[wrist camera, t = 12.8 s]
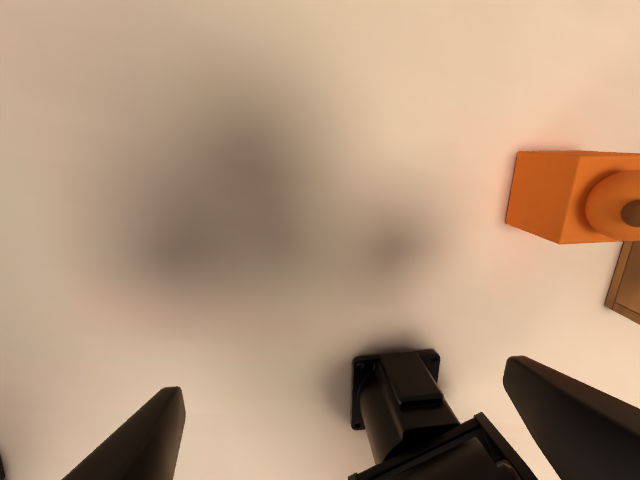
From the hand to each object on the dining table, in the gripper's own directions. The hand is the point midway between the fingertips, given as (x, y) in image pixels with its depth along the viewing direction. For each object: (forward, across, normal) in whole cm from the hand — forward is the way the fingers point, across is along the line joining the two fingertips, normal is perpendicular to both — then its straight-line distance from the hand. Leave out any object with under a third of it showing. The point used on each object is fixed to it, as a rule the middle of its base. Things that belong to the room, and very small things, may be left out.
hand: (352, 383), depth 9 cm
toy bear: (+12, -15, -3) cm, 19 cm away
